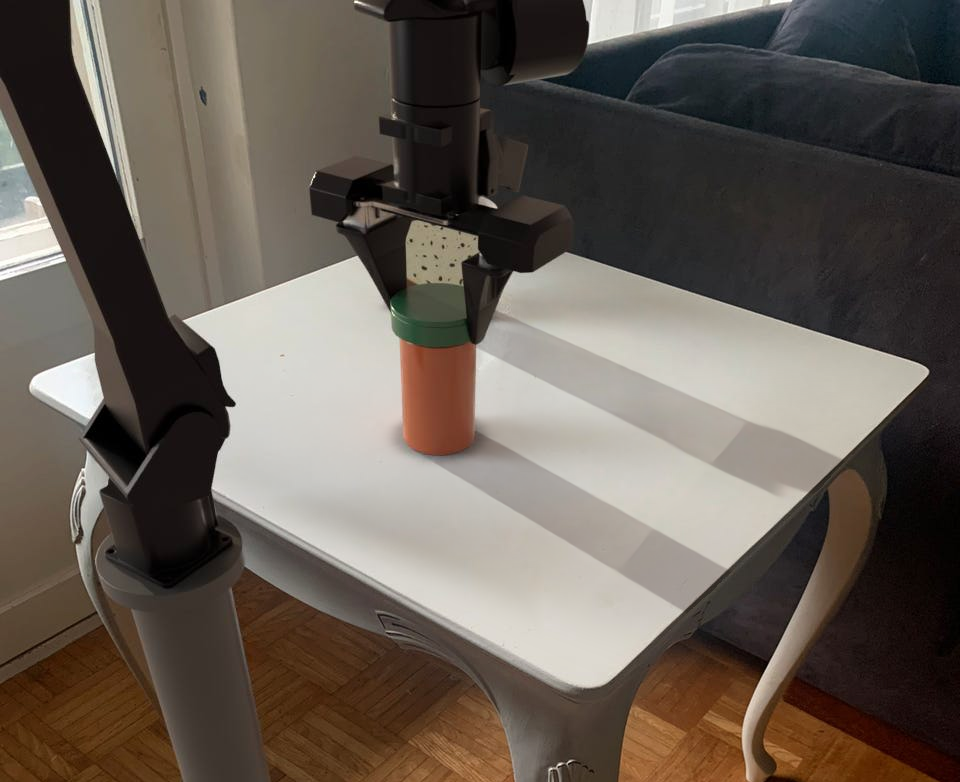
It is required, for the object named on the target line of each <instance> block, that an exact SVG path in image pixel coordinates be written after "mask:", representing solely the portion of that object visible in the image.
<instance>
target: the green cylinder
mask: <svg viewBox="0 0 960 782" xmlns="http://www.w3.org/2000/svg"><path fill="white" fill-rule="evenodd" d="M390 304H391V313H390V322H391V323H390V325H391V330H392V332H393V334H394V335H395V336H396V337H397V338H400V339H402V340H404V341H406V342H409V343H412V344H415V345H420V346H426V347H450V346H457V345H461V344H465V343H468V342H470V341H471V340H470V335H469V331H468V325H467V315H466V306H465V296H464V286H460V285H455V284H447V283H427V284H419V285H414V286H410V287H407V288H405V289H402V290H400V291H399V292H397V293H396V294H395V295H394V296H393V297H392V299H391V303H390Z"/></svg>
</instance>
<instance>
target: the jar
mask: <svg viewBox="0 0 960 782" xmlns="http://www.w3.org/2000/svg"><path fill="white" fill-rule="evenodd" d="M398 338H399V337H398ZM398 341H399V362H400V363H399V364H400V384H401V385H400V386H401V387H400V389H401V413H402V414H401V415H402V417H401V419H402V438H403V440H404V442H405V445H407V447H409V448H411V449H412V450H414V451H416V452H419V453H421V454H424V455H425V454H426V455H433V456H445V455H446V456H447V455H453V454H456V453H460V452H462V451H464V450H466V449H467V448H469V447H470V446H471V445H472V444H473V442H474V440H475V437H476V435H475V434H476V430H475V429H476V387H477V385H476V384H477V383H476V382H477V345H474V344H472V343H471V341H470V342H468V343H465V344H461V345H457V346H450V347H426V346H420V345H415V344H412V343H409V342H406V341H404V340H402V339H400V338H399V339H398Z"/></svg>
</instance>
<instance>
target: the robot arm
mask: <svg viewBox="0 0 960 782" xmlns="http://www.w3.org/2000/svg"><path fill="white" fill-rule="evenodd" d="M353 7H354V10H355V11H356V13H358V14H362V15H365V16H367V17H371V18H374V19H377V20H380V21H384V22H386V23H387V36H388V37H387V38H388V40H387V41H388V62H389V63H388V65H389V85H390V86H389V87H390V111H391V112H388V113H386V114H382V115H379V116H378V125H379V126H378V127H379V135H383V136H386V137H387V136H388V137H391V139H392V141H391V142H392V161H393V162H392V163H389V162H385V161H381V160H376V159H371V158H369V157H363V156H359V155H354V156H351V157H348V158H346V159H343V160H341V161H338V162H335V163H332V164H330V165H327V166H325V167H322V168H319V169H317V170H315V172H314V174H313V175H312V179H311V180H310V183H309V186H308V196H309V204H310V205H309V207H310V213H311V216H313V217H318V218H322V219H324V220H329V221H332V222H336V224H335V230H336V232H337V234H339V235H341V236H343V237H345V238H346V241H347V242H348V243H349V244H350V247H351V248H352V250H353V251H354V253H355V254H356V255H357V258H358V259H359V261H360V262H361V263H362V265H363V266H364V269H366V272H367V273H368V275H369V277H370V279H371V280H372V281H373V283H374V285H375V287H376V289H377V291H378V292H379V294H380V297H381V298H382V300H383V302H384V304H385V305H386V307H387V309H388V312H389V313H390V314H391V304H390V303H391V299H392V297H393V296H394V295H395V294H396V293H397V292H399V291H400V290H402V289H405V288H407V267H406V238H407V235H408V232H409V229H410V226H411V223H412V220H413V219H415V220H419V221H422V222H426V223H430V224H434V225H437V226H441V227H445V228H449V229H453V230H456V231H460V232H464V233H468V234H471V235H475V236H478V250H479V252H478V253H477V254H475V255H473V256H471V257H469V258H468V259H466V260H464V261H462V262H461V267H462V277H463V286H464V296H465V306H466V315H467V325H468V331H469V335H470V340H471V343H472V344H474V345H476V346H477V345H479V344H480V343H482V342H483V341H484V339H485V338H486V334H487V332H488V330H489V327H490V324H491V322H492V319H493V317H494V314H495V312H496V310H497V307H498V304H499V302H500V299H501V296H502V294H503V292H504V289H505V287H506V286H507V284H508V282H509V280H510V279H511V277H512V274H513V273H514V272H516V273H519V274H528V273H529V274H530V273H534V272H536V271H537V270H539V269H541V268H542V267H544V266H546V265H547V264H549V263H550V262H552V261H554V260H555V259H558V258H559V257H560V256H562V255H563V254H565V253H567V252H568V251H570V250H572V248H573V239H574V226H575V223H574V220H573V218H572V215H571V213H570V211H569V210H568V208H567V207H566V205H564V204H559V203H555V202H551V201H546V200H543V199H539V198H534V197H530V196H526V195H520V196H518V197H516V198H514V199H512V200H510V201H508V202H506V203H505V204H502V205H501V206H499V207H497V209H496V208H492V207H488V206H484V205H480V204H478V202H479V197H481V196H482V197H485V198H490V197H492V196H495V195H496V194H498V192H499V189H498V188H499V186H503V187H504V189H505V190H507V191H510V192H511V191H512V192H516V193H519V192H520V188H521V184H522V178H523V173H524V169H525V164H526V159H527V154H528V151H529V144H527V143H524V142H520V141H517V140H514V139H511V138H508V137H504V136H502V135H501V136H500V135H497V134H494V117H493V115H492V110H491V109H487V108H482V107H481V86H482V85H481V83H482V82H481V81H482V79H481V78H483V79H484V80H485V81H486V82H487V83H489V84H490V85H492V86H493V87H502V86H509V85H515V84H520V83H526V82H533V81H538V80H539V81H540V80H543V79H549V78H556V77H561V76H562V77H563V76H567V75H569V74H571V73H573V72H574V71H575V70H576V69H577V68H578V67H579V66H580V64H581V62H582V60H583V59H584V56H585V53H586V50H587V48H588V43H589V36H590V23H589V20H587V19H588V18H587V10H586V6H585V3H584V0H354V2H353ZM72 41H73V40H72V15H71V0H0V112H1V114H2V117H3V119H4V121H5V124H6V127H7V128H8V130H9V133H10V135H11V139H12V140H13V142H14V144H15V147H16V149H17V151H18V153H19V156H20V158H21V161H22V163H23V165H24V168H25V170H26V173H27V174H28V177H29V179H30V181H31V184H32V186H33V188H34V191H35V192H36V195H37V198H38V200H39V202H40V204H41V206H42V207H41V208H42V209H43V211H44V213H45V214H44V215H46V219H47V221H48V223H49V225H50V228H51V229H52V232H53V234H54V236H55V239H56V242H57V244H58V245H59V248H60V251H61V253H62V255H63V258H64V260H65V262H66V264H67V266H68V269H69V271H70V273H71V276H72V278H73V280H74V283H75V285H76V287H77V290H78V292H79V294H80V296H81V299H82V301H83V303H84V305H85V308H86V310H87V313H88V315H89V317H90V320H91V323H92V328H93V343H94V347H93V348H94V349H93V350H94V364H95V367H96V372H97V376H98V380H99V385H100V388H101V392H102V396H103V398H102V399H101V401H100V403H99V404H98V406H97V408H96V410H95V411H94V413H93V414H92V416H91V417H90V419H89V421H88V422H87V423H86V425H85V427H84V428H83V430H82V432H81V433H80V434H79V436H78V438H79V439H78V441H79V443H80V444H81V445H82V446H83V448H84V449H85V450H86V451H87V453H88V454H89V456H91V457H92V459H93V460H94V461H95V463H97V464H98V466H99V467H100V468H101V469H102V470H103V472H104V473H105V474H106V475H107V476H108V478H107V481H106V485H105V486H103V487H102V488H100V489H99V490H98V493H99V497H100V500H101V503H102V506H103V510H104V513H105V516H106V519H107V523H108V527H109V529H110V534H111V533H112V537H113V540H114V543H115V544H113V545H112V546H110V547H109V548H107V549H106V550H105V551H104V555H105V558H106V559H107V560H109V561H111V562H113V563H115V564H117V565H119V566H121V567H123V568H125V569H127V570H128V571H130V572H132V573H134V574H136V575H138V576H140V577H142V578H144V579H146V580H148V581H150V582H152V583H154V584H156V585H158V586H160V587H162V588H164V589H169V588H172V587H174V586H175V585H177V584H178V583H180V582H181V581H183V580H184V579H185V578H187V577H188V576H190V575H191V574H192V573H194V572H195V571H197V570H198V569H200V568H201V567H202V566H204V565H205V564H207V563H208V562H209V561H211V560H212V559H214V558H215V557H216V556H218V555H219V554H221V553H222V552H224V551H225V550H226V549H228V548H229V547H231V546H232V544H233V541H232V537H231V536H229V535H227V534H225V533H222V532H220V531H218V530H216V529H215V528H216V527H217V526H218V519H217V515H218V514H217V510H216V505H215V500H214V495H213V490H212V488H213V483H214V477H215V472H216V465H217V461H218V454H219V452H220V451H221V449H222V448H223V446H224V443H225V441H226V439H228V438H229V437H230V434H231V420H230V419H231V418H230V414H229V411H228V409H227V408H235V407H236V405H237V402H236V401H235V400H234V399H233V398H232V396H230V394H229V393H228V391H227V388H226V387H225V385H224V382H223V378H222V370H221V364H220V363H221V362H220V360H219V357H218V354H217V350H216V348H215V347H214V346H213V345H212V344H210V343H209V342H208V341H207V340H205V338H204V337H202V336H201V335H200V334H199V333H198V332H197V331H195V330H194V329H193V328H192V327H190V326H189V325H188V324H187V323H186V322H185V321H183V319H181V318H180V317H178V315H176V314H173V315H171V316H168V313H167V310H166V308H165V304H164V301H163V299H162V296H161V294H160V290H159V288H158V286H157V283H156V280H155V278H154V275H153V272H152V269H151V265H150V263H149V260H148V258H147V256H146V252H145V250H144V248H143V245H142V242H141V240H140V236H139V234H138V231H137V229H136V225H135V223H134V221H133V218H132V215H131V212H130V210H129V206H128V204H127V201H126V199H125V196H124V193H123V191H122V187H121V185H120V182H119V180H118V176H117V174H116V172H115V169H114V166H113V164H112V160H111V158H110V155H109V151H108V149H107V148H106V145H105V142H104V139H103V137H102V134H101V131H100V128H99V125H98V123H97V119H96V117H95V115H94V111H93V109H92V106H91V104H90V101H89V98H88V96H87V93H86V90H85V87H84V84H83V82H82V80H81V77H80V74H79V71H78V69H77V66H76V63H75V57H74V53H73V42H72ZM457 214H458V215H457ZM216 514H217V515H216Z"/></svg>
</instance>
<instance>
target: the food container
mask: <svg viewBox="0 0 960 782" xmlns="http://www.w3.org/2000/svg"><path fill="white" fill-rule="evenodd" d="M478 204H480V205H484V206H488V207H492V208H496V209H497V208H498V206H497V204H496V203H494V202H493V201H492V200H490V199H489V198H488V197H485V196H481V197H479V202H478ZM457 215H458V214H457ZM478 252H479V250H478V236H475V235H471V234H468V233H464V232H460V231H456V230H453V229H449V228H445V227H441V226H437V225H434V224H430V223H426V222H422V221H419V220H415V219H413V220H412V223H411V226H410V229H409V232H408V235H407V238H406V267H407V287H410V286H414V285H419V284H427V283H447V284H455V285H460V286H463V277H462V267H461V262H462V261H464V260H466V259H468V258H469V257H471V256H473V255H475V254H477V253H478Z"/></svg>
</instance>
